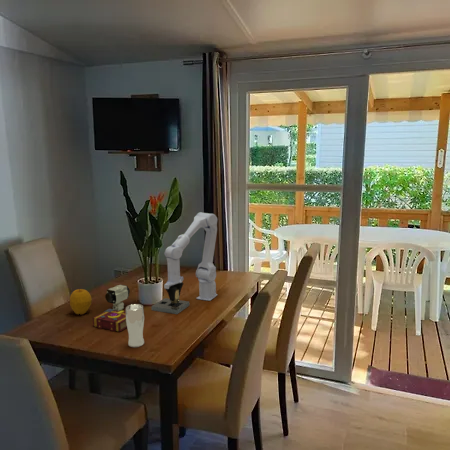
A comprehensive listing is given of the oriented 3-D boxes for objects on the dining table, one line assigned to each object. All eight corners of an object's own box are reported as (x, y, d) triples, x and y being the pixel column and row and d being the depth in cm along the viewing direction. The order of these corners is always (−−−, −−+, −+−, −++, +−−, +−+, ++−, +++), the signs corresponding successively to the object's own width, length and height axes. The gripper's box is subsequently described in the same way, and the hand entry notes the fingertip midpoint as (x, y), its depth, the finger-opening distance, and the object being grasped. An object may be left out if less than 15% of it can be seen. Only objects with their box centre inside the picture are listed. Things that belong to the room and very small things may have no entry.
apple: (96, 310, 191) (94, 286, 189) (84, 318, 181) (82, 293, 179) (78, 308, 193) (77, 285, 191) (66, 316, 184) (63, 291, 182)
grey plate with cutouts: (164, 301, 201) (164, 298, 200) (189, 305, 195) (189, 301, 195) (151, 310, 190) (151, 306, 189) (177, 314, 184) (177, 310, 184)
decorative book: (120, 333, 165) (119, 321, 165) (90, 326, 172) (89, 316, 171) (136, 323, 176) (136, 312, 175) (108, 317, 182) (107, 307, 181)
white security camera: (105, 312, 187) (104, 288, 185) (124, 304, 197) (122, 281, 195) (114, 314, 185) (112, 290, 183) (132, 306, 194) (130, 283, 192)
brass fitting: (173, 299, 193) (173, 288, 192) (180, 301, 192) (180, 289, 191) (169, 302, 190) (168, 290, 189) (176, 303, 188) (176, 291, 187)
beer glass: (138, 349, 151) (136, 311, 148) (123, 346, 153) (121, 309, 151) (148, 341, 157) (147, 305, 155) (133, 338, 160) (132, 302, 157)
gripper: (173, 276, 180) (174, 305, 182) (188, 268, 193) (189, 295, 196) (160, 274, 183) (161, 303, 185) (175, 267, 196) (176, 293, 198)
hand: (174, 298), depth 191 cm, fingers closed on brass fitting, 4 cm apart
